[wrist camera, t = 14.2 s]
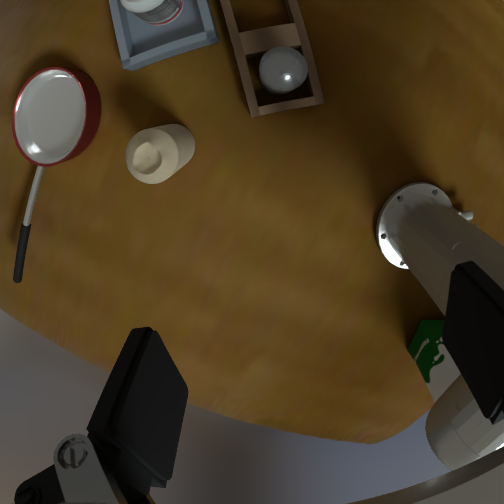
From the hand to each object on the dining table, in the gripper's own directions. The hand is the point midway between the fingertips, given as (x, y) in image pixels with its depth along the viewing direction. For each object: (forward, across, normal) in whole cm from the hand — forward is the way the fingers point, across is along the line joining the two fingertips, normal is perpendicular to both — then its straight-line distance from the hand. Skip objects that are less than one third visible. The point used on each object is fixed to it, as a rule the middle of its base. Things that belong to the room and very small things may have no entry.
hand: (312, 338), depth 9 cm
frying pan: (+31, +30, -7) cm, 44 cm away
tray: (+30, +8, -23) cm, 39 cm away
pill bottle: (+30, +8, -23) cm, 39 cm away
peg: (+30, -3, -10) cm, 32 cm away
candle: (+31, +11, -5) cm, 33 cm away
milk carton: (+31, -22, +34) cm, 51 cm away
